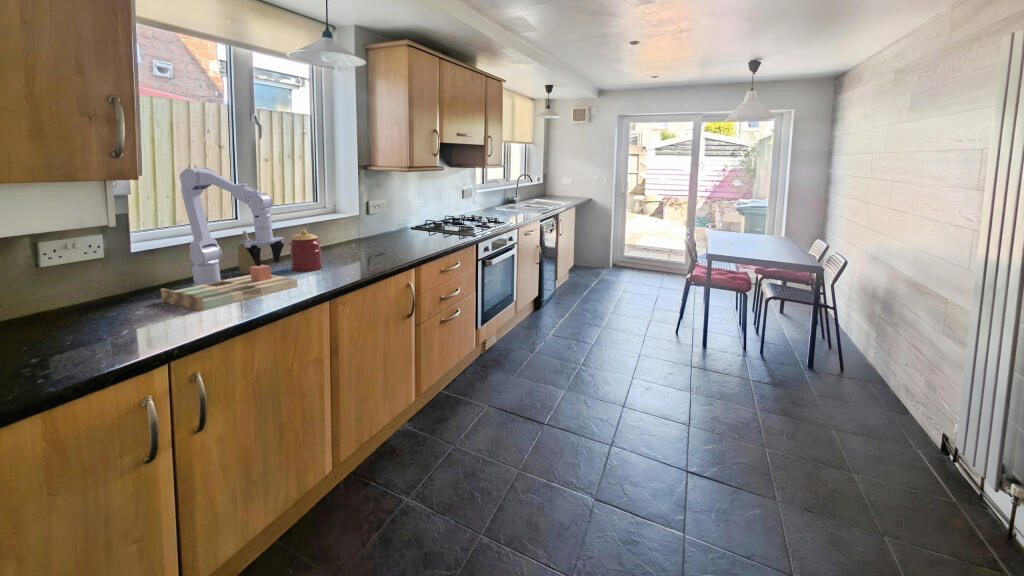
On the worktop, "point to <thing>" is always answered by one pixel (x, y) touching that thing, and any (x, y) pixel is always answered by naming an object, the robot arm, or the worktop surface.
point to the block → (260, 273)
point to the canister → (305, 252)
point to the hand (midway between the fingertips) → (267, 264)
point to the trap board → (225, 292)
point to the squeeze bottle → (244, 255)
